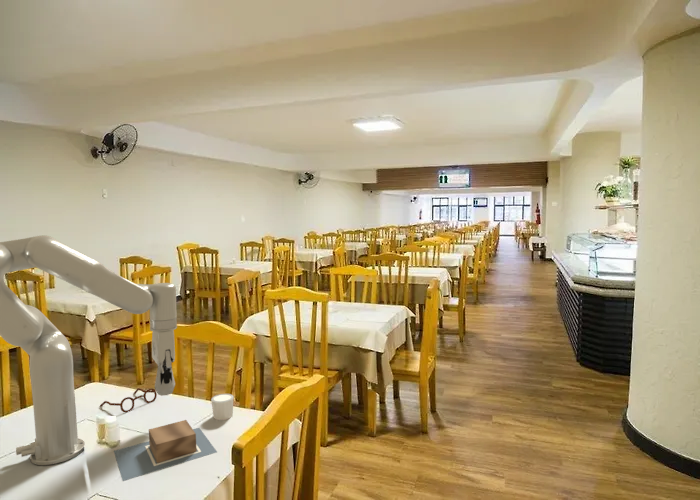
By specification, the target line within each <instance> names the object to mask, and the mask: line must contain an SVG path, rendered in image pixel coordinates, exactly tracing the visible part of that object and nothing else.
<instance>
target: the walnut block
mask: <svg viewBox="0 0 700 500" xmlns="http://www.w3.org/2000/svg"><path fill="white" fill-rule="evenodd" d="M193 429H194V428H192V426H191V425H190V424H189V422H188V420H187V419H184V420H180V421H177V422H173V423H169V424H165V425H161V426H157V427H152V428H149V429H148V441H149V444H150V449H151V451H152V453H153V455H154V457H155V459H156V462H157V463H160V462H163V461H166V460H170V459H173V458H176V457H180V456H183V455H186V454H190V453H193V452H196V451H197V449H196V433H195V432H194V430H193Z"/></svg>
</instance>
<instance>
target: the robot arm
mask: <svg viewBox="0 0 700 500" xmlns="http://www.w3.org/2000/svg"><path fill="white" fill-rule="evenodd" d="M32 268H33V269H35V268H37V269H39V270H40V271H43V272H45V273H47V274H49V275H51V276H54V277H56V278H58V279H60V280H62V281H65V282H66V283H68V284H71V285H72V286H74V287H76V288H78V289H80V290H81V291H84V292H86V293H88V294H91V295H93V296H95V297H97V298H100V299H101V300H103V301H105V302H107V303H109V304H112V305H114V306H116V307H117V308H120V309H122V310H124V311H127V312H128V313H131V314H134V315H142V314H145V313H146V312H148V311H149V331H151V332H152V337H151V358H152V360H153V361H154V362H155V364H156V365H157V366H158V365H160V364H161V373H160V380H161V384H162V381H163V378H164V383H165V384H168V383H169V382H170V379H171V381H172V372H173V368H172V363H174V362H175V359H176V351H175V348H176V347H175V344H176V343H175V331H174V330H176V329H177V328H178V324H177V323H178V322H177V319H178V315H177V314H178V313H177V288H176V285H175V284H174V283H171V282H157V283H154V284H150V283H149V284H148V283H147V284H142V283H135V282H133V281H130V280H128V279H126V278H124V277H123V276H121V275H119V274H117V273H116V272H115V271H114V272H113V271H112V270H111V269H109V268H108V267H107V266H105V265H104V264H103V263H101V262H99V261H98V260H96V259H94V258H92V257H90V256H88V255H87V254H84V253H82V252H80V251H78V250H76V249H74V248H73V247H71V246H68V245H66V244H65V243H63V242H61V241H59V240H57V239H56V238H54V237H53V236H50V235H35V236H31V237H25V238H19V239H13V240H6V241H1V242H0V337H1V338H2V339H3V340H4V341H5V342H6V343H8V344H10V345H11V346H15V347H20V348H21V349H22V350H23V351H24V352H25V353H26V354H27V355H28V356H29V364H28V365H29V373H30V375H29V376H30V383H31V393H32V395H31V396H32V403H33V416H34V430H35V438H34V442H30V444H28V445H22V446H18V447H17V446H16V448H15V453H16V456H19V455H21V458H23V457H27V456H29V457H30V459H29V460H30V462H31V463H32V464H34V465H38V466H48V465H49V466H51V465H55V464H60V463H63V462H66V461H68V460H70V459H73V458H75V457H77V456H78V455H80V454H81V453H82V452H83V451H84V450H85V446H86V445H85V440H83V439H81V438H79V436H78V423H77V408H76V407H77V406H76V394H75V393H76V392H75V381H74V380H75V379H74V356H73V352H72V351H73V350H72V348H71V344H70V342H69V340H68V338H67V337H66V336H65V335H64V334H63V333H62V332H61V330H59V329H58V328H57V326H56V325H54V324H53V322H51V320H49V318H48V317H47V316H46V315H45V314H44V313H43V312H42V311H41V309H38V308H37V307H35V306H33V305H29V304H25V302H23V301H22V300H21V299H20V298H19V297H18V296H17V294H16V293H15V292H14V291H13V290H12V289H11V288H10V287H8V286H7V284H6V283H5V280H4V279H5V278H4V277H5V275H6V274H9V273H13V272H18V271H23V270H27V269H28V270H29V269H32ZM171 357H172V358H171ZM163 361H166V362H163ZM164 365H166V366H164Z"/></svg>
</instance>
